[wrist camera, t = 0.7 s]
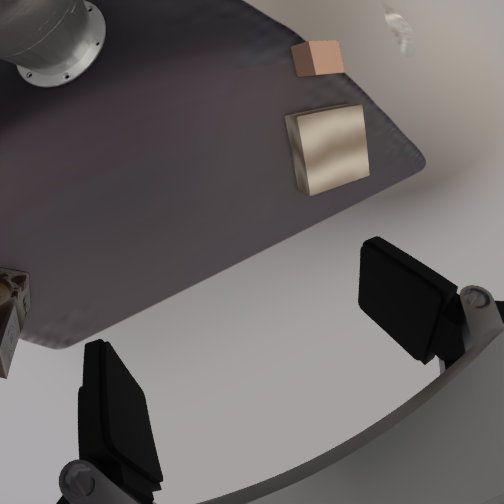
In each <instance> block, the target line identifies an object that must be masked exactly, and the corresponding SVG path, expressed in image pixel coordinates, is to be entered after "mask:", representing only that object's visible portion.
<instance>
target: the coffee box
mask: <svg viewBox="0 0 504 504" xmlns="http://www.w3.org/2000/svg"><path fill="white" fill-rule="evenodd" d="M30 306H31V303H30V288H29V274H28V273H27V272H22V271H16V270H10V269H4V268H0V377H1V378H5V379H7V376H8V372H9V368H10V365H11V361H12V358H13V354H14V351H15V348H16V345H17V342H18V339H19V336H20V333H21V330H22V327H23V325H24V322H25V319H26V316H27V314H28V311H29V309H30Z"/></svg>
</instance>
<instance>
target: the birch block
mask: <svg viewBox="0 0 504 504" xmlns="http://www.w3.org/2000/svg"><path fill="white" fill-rule="evenodd" d="M285 121H286V126H287V131H288V136H289V141H290V146H291V152H292V157H293V163H294V168H295V174H296V179H297V185H298V190H300V191H302V192H303V193H305V194H307V195H309V196H312V195H315V194H318V193H320V192H323V191H326V190H329V189H332V188H334V187H337V186H340V185H343V184H346V183H349V182H352V181H354V180H357V179H360V178H363V177H366V176H369V164H368V152H367V142H366V133H365V124H364V117H363V109H362V105H359V104H343V105H337V106H331V107H325V108H320V109H315V110H310V111H305V112H300V113H295V114H291V115H286V116H285Z"/></svg>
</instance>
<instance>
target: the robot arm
mask: <svg viewBox="0 0 504 504" xmlns="http://www.w3.org/2000/svg"><path fill="white" fill-rule="evenodd" d="M89 10H92V11H91V12H89ZM105 37H106V24H105V20H104V17H103V15H102V13H101V11H100V10H99V9H98V8H97V7H96V6H95V5H93V4H92V3H90V2H88V1H85V0H0V59H3V60H6V61H8V62H11V63H14V64H16V65H17V68H18V71H19V73H20V74H21V76H22V77H23V78H24V79H25V80H26V81H27V82H29V83H31V84H33V85H35V86H38V87H45V88H48V87H57V86H61V85H64V84H66V83H69V82H71V81H73V80H74V79H76V78H78V77H79V76H81V75H82V74H83V73H84V72H85V71H87V70H88V69H89V67H90V66H91V65H92V64H93V63H94V62H95V60H96V59H97V57H98V56H99V54H100V52H101V50H102V48H103V45H104V42H105ZM97 43H100V44H99V45H98V46H96V44H97ZM31 74H32V76H31V77H30V75H31ZM67 75H69V78H68V79H66V76H67ZM457 289H458V286H456V285H455V284H453V283H452V282H450V281H449V280H447V279H446V278H444V277H443V276H441V275H440V274H438V273H437V272H435V271H434V270H432V269H431V268H429V267H427V266H426V265H424V264H423V263H421V262H419V261H418V260H417V259H415V258H413V257H412V256H410V255H409V254H407V253H405V252H404V251H402V250H400V249H399V248H397V247H395V246H394V245H392V244H391V243H389V242H387V241H386V240H384V239H382V238H381V237H378V236H376V237H373V238H371V239H368V240H366V241H365V242H364V243H363V246H362V247H361V250H360V278H359V296H358V297H359V298H358V303H359V306H360V308H361V309H362V310H363V311H364V312H365V313H366V314H367V315H368V316H369V317H370V318H371V319H372V320H374V321H375V322H376V323H377V324H378V325H379V326H380V327H381V328H382V329H383V330H384V331H386V332H387V333H388V334H389V335H390V336H391V337H392V338H393V339H394V340H395V341H396V342H397V343H398V344H400V346H402V347H403V348H404V349H405V350H406V351H407V352H408V353H409V354H410V355H411V356H412V357H413V358H414V359H416V360H420V361H421V362H422V363H423V364H424V365H426V364H427V363H428V362H429V361H431V360H432V359H433V358H434V357H435V355H436V356H437V357H438V358H439V365H440V376H439V377H437V378H436V379H435V380H434V381H433V382H431V383H430V384H429V385H428V386H426V387H425V388H424V389H422V390H421V391H420V392H419V393H417V394H416V395H415V396H413V397H412V398H411V399H409V400H408V401H407V402H405V403H404V404H403V405H401V406H400V407H398V408H397V409H396V410H394V411H393V412H391V413H390V414H388V415H387V416H385V417H384V418H382V419H381V420H379V421H378V422H376V423H375V424H373V425H372V426H370V427H369V428H367V429H365V430H364V431H362V432H361V433H359V434H357V435H356V436H354V437H352V438H351V439H349V440H347V441H345V442H344V443H342V444H340V445H338V446H336V447H335V448H333V449H331V450H329V451H327V452H325V453H323V454H322V455H320V456H318V457H316V458H314V459H312V460H310V461H308V462H306V463H304V464H301V465H300V466H297V467H295V468H293V469H291V470H289V471H286V472H284V473H282V474H279V475H277V476H275V477H272V478H270V479H267V480H265V481H262V482H260V483H257V484H255V485H252V486H249V487H247V488H244V489H241V490H238V491H235V492H232V493H229V494H226V495H223V496H221V497H218V498H214V499H211V500H208V501H204V502H201V503H197V504H504V301H494V299H493V297H492V295H491V294H490V293H489V292H488V291H487V290H485V289H484V288H482V287H479V286H474V285H471V286H466V287H465V288H463V289H462V290H461V292H460V295H459V294H457V293H456V292H457ZM84 351H85V352H84V365H83V386H82V387H80V388H79V392H78V443H79V460H73V461H71V462H69V463H68V464H66V465H65V466H64V468H63V469H62V471H61V473H60V476H59V487H60V490H61V492H62V494H63V495H62V497H61V498H60V500H59V501H58V502H57V503H56V504H156V503H155V502H153V500H154V497H153V493H152V492H154V491H158V490H162V489H161V486H160V482H162V481H163V475H162V471H161V468H160V464H159V460H158V456H157V452H156V447H155V443H154V439H153V434H152V430H151V425H150V420H149V415H148V410H147V405H146V399H145V395H144V393H143V391H142V389H141V387H140V386H139V385H138V383H137V382H136V381H135V379H134V378H133V377H132V375H131V374H130V372H129V371H128V369H127V368H126V367H125V365H124V364H123V362H122V361H121V359H120V358H119V356H118V355H117V353H116V352H115V350H114V349H113V347H112V346H111V344H110V343H109V342H108V341H107V342H104V341H103V340H102V339H98V340H95V341H92V342H89V343H86V344H85V350H84Z"/></svg>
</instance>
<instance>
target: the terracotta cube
mask: <svg viewBox="0 0 504 504" xmlns="http://www.w3.org/2000/svg"><path fill="white" fill-rule="evenodd" d="M291 50H292V54H293V59H294V63H295V68H296V72H297V77H303V76H312V75H321V74H330V73H341V72H344V67H343V62H342V57H341V52H340V48H339V43H338V40H329V41H328V40H327V41H308V42H304V43H301V44H298V45H294V46H291Z"/></svg>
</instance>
